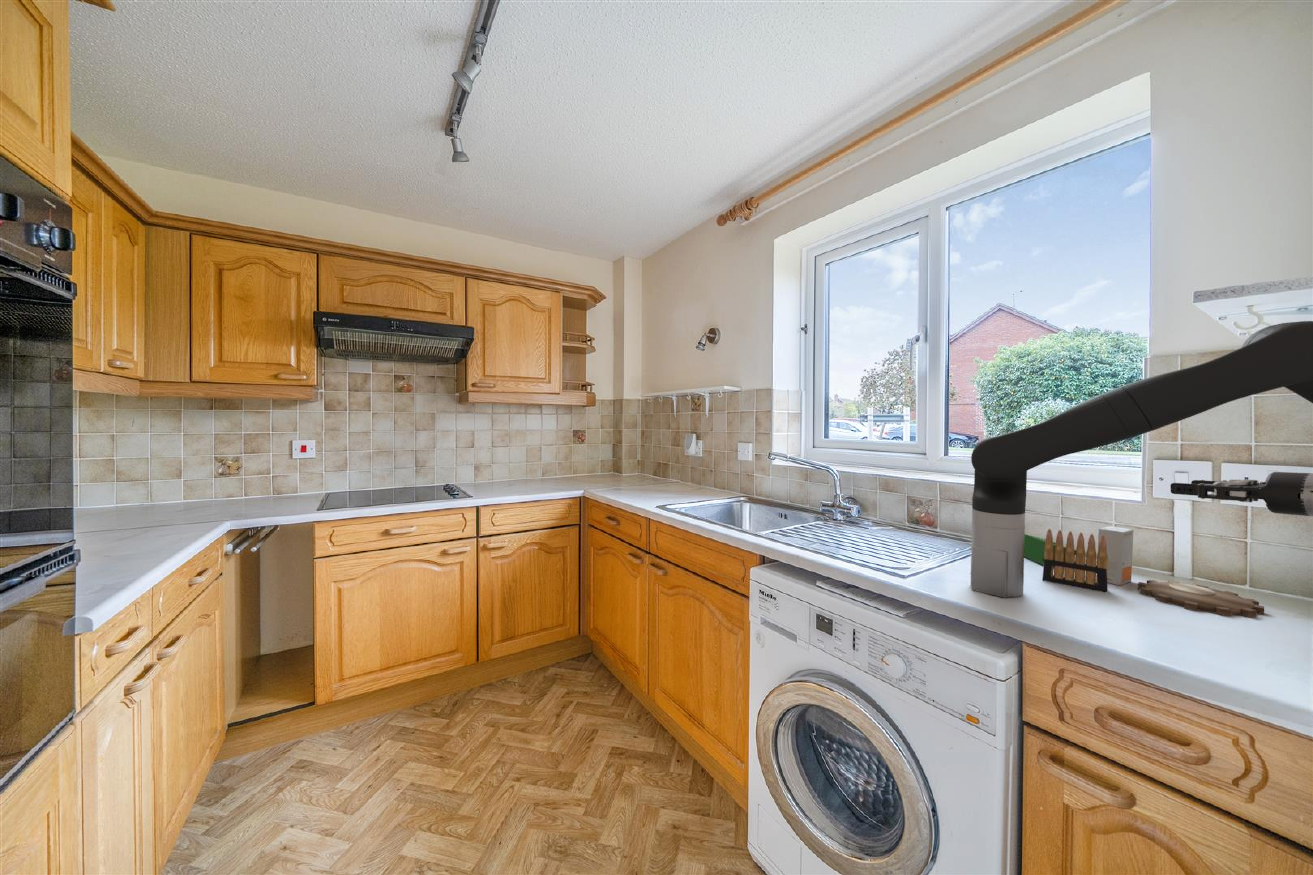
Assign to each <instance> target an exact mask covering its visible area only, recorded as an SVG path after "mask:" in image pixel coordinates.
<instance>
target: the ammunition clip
mask: <svg viewBox="0 0 1313 875" xmlns="http://www.w3.org/2000/svg"><path fill="white" fill-rule="evenodd" d="M1045 540H1046V543H1045V547H1044V565H1043V571H1042V581H1043V582H1047V583H1053V584H1059V585H1063V586H1067V587H1068V586H1069V587H1075V588H1080V589H1083V590H1091V591H1096V592H1100V593H1106V594H1107V593H1108V591H1109V590H1108V588H1109V587H1108V586H1109V585H1108V582H1107V566H1108V556H1107V545H1106V539H1105V537H1104V535H1102V537H1101V539H1100V542H1099V550H1098V549H1097V551H1096V539H1095V536H1094V534H1093V533H1091V534H1090V535H1089V537H1088V540H1087V549H1086V548H1085V537H1084V535H1083V533H1082V532H1080V533H1079V534H1078V537H1077V540H1076V541H1077V542H1076V549H1075V542H1074V540H1075V539H1074V535H1073V533H1072V531H1069V532H1068V533H1067V537H1066V544H1065V546H1064V537H1063V532H1062V530H1061V529H1059V530H1058V531H1057V533H1056V539H1055V543H1056V546H1055V553H1054V547H1053V542H1054V541H1053V533H1052V530H1051V528H1048V529H1047V531H1046V537H1045ZM1064 547H1066V549H1065V560H1064ZM1075 550H1076V554H1075ZM1053 566H1054V567H1053Z"/></svg>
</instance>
